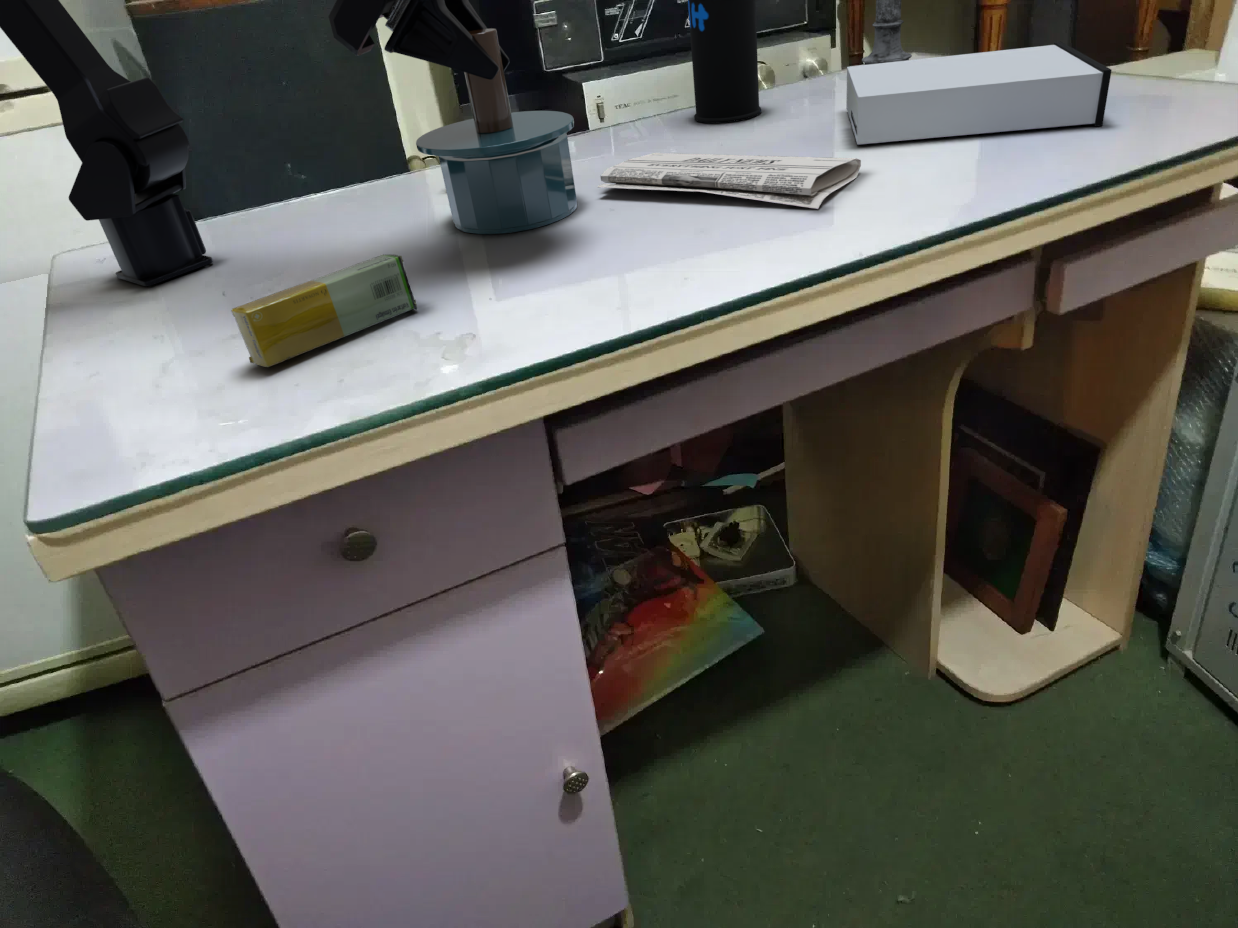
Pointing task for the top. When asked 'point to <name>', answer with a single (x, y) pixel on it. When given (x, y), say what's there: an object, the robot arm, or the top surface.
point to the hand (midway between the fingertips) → (501, 70)
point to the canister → (511, 188)
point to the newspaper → (737, 176)
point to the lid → (493, 118)
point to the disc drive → (976, 94)
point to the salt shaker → (887, 34)
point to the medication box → (324, 309)
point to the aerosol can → (724, 59)
